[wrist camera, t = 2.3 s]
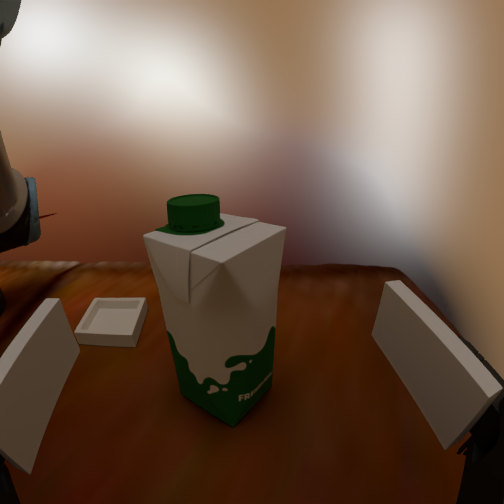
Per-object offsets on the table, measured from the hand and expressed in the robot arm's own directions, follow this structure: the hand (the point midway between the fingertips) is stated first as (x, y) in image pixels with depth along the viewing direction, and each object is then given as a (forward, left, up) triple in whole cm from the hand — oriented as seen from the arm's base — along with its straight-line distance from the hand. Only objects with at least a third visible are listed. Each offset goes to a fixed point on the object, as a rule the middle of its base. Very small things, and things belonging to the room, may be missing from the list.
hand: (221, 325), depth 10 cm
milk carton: (-8, +8, -18) cm, 21 cm away
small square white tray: (-28, +5, -18) cm, 34 cm away
